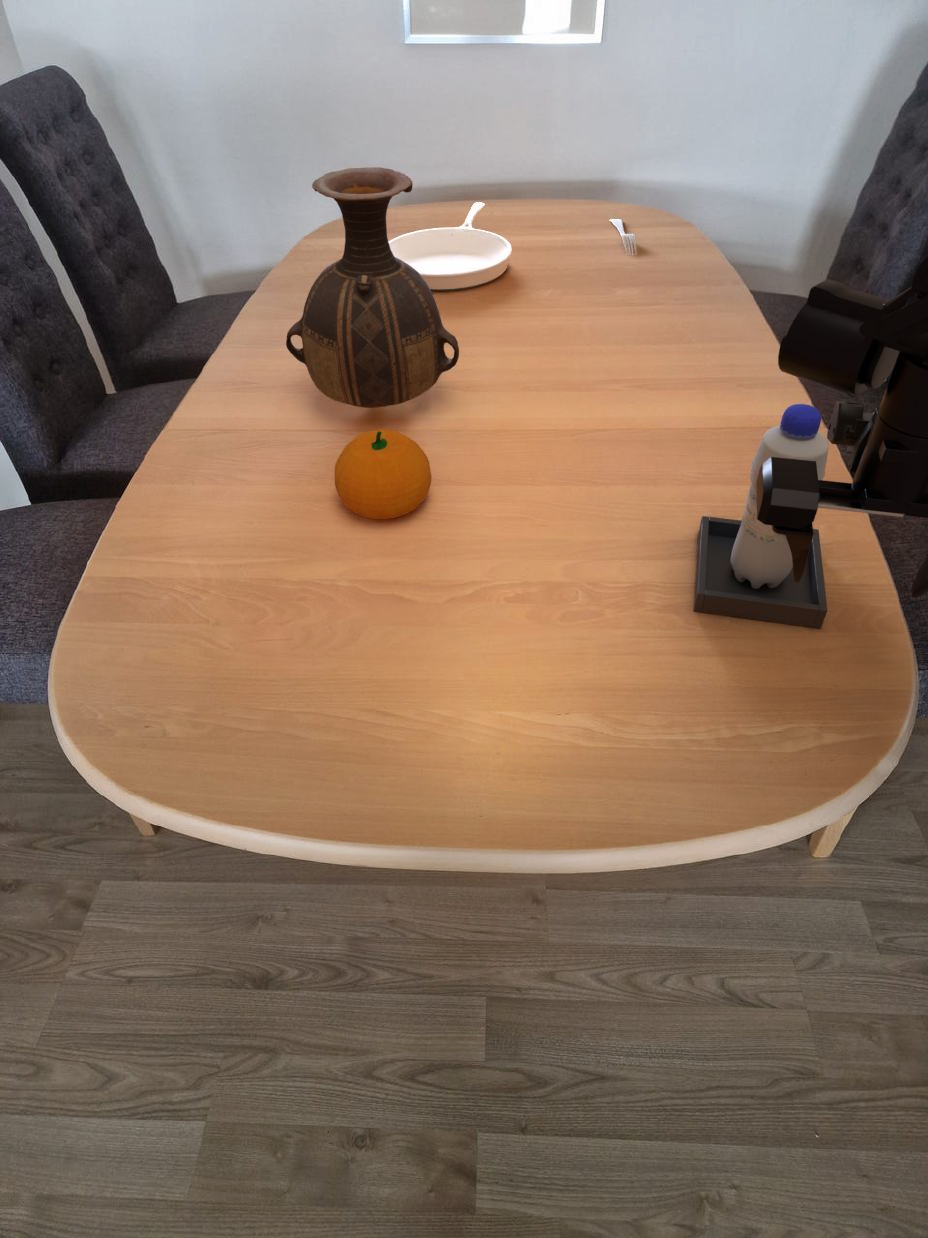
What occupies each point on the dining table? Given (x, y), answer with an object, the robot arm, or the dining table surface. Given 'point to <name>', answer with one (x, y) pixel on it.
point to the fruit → (382, 474)
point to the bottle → (756, 543)
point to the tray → (739, 599)
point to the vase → (370, 305)
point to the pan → (454, 254)
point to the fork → (625, 235)
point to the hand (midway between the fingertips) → (854, 586)
